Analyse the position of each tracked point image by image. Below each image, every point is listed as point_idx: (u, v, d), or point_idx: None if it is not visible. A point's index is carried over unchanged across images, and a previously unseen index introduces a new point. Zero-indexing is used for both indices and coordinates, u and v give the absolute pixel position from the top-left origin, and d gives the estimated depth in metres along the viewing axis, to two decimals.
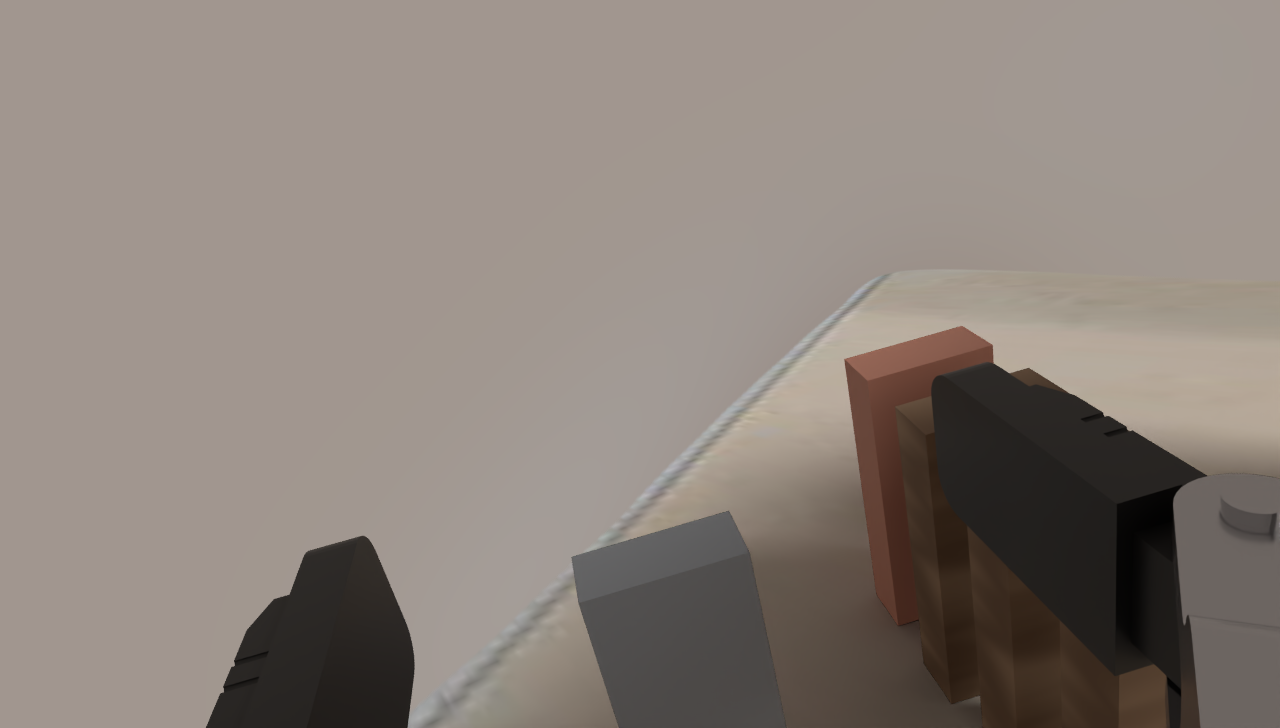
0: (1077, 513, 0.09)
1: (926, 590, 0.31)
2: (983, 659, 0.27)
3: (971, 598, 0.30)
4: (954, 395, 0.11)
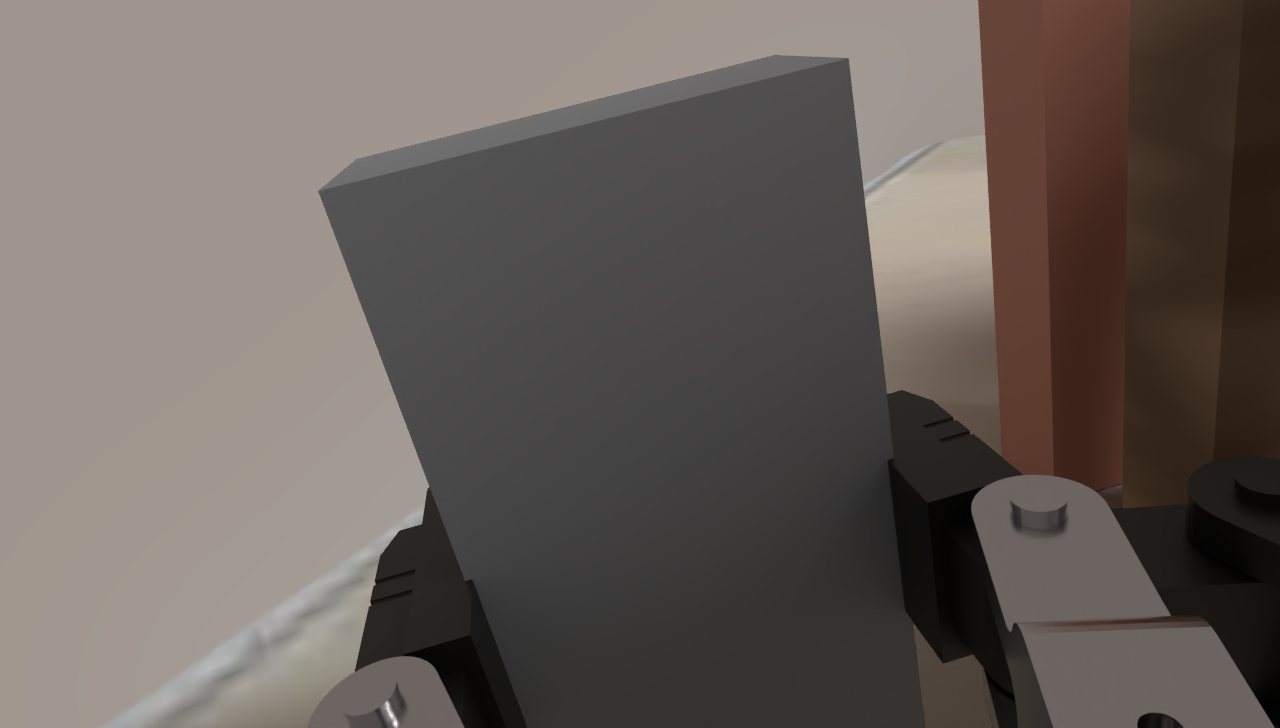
0: (906, 511, 0.09)
1: (1162, 386, 0.15)
2: None
3: (1277, 387, 0.14)
4: None
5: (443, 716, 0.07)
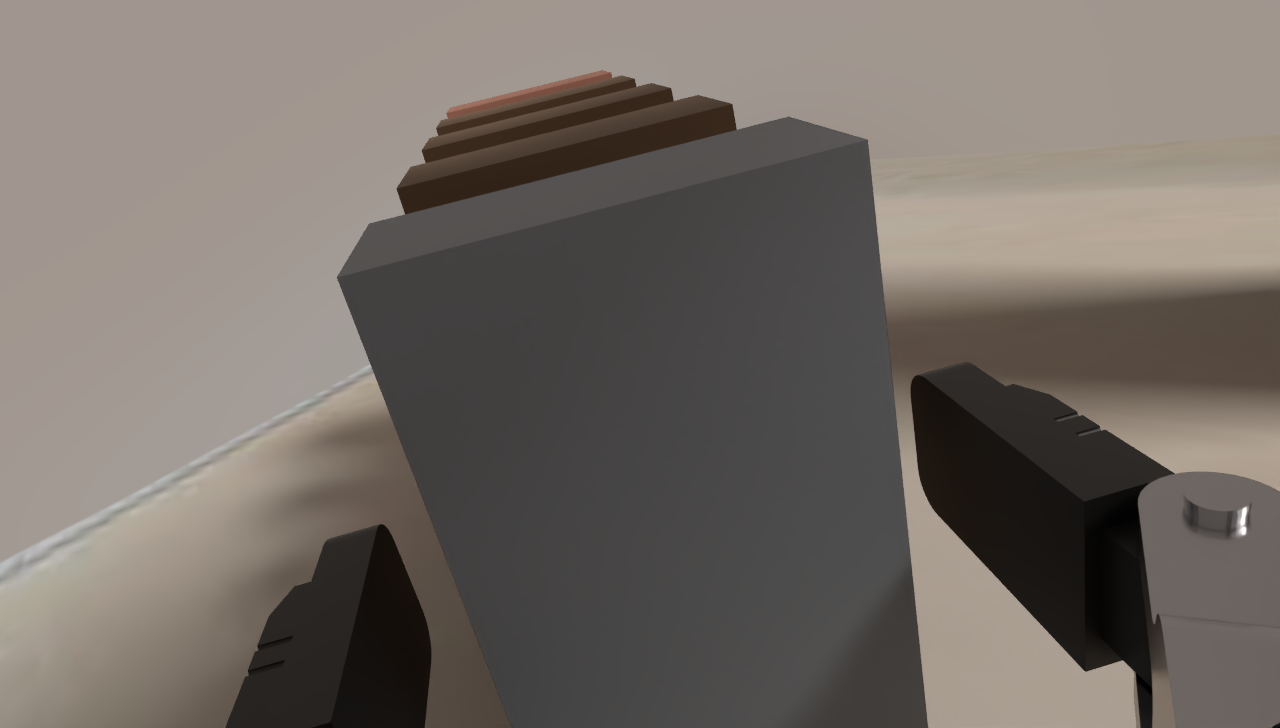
0: (1048, 510, 0.09)
1: None
2: None
3: None
4: (932, 395, 0.11)
5: None
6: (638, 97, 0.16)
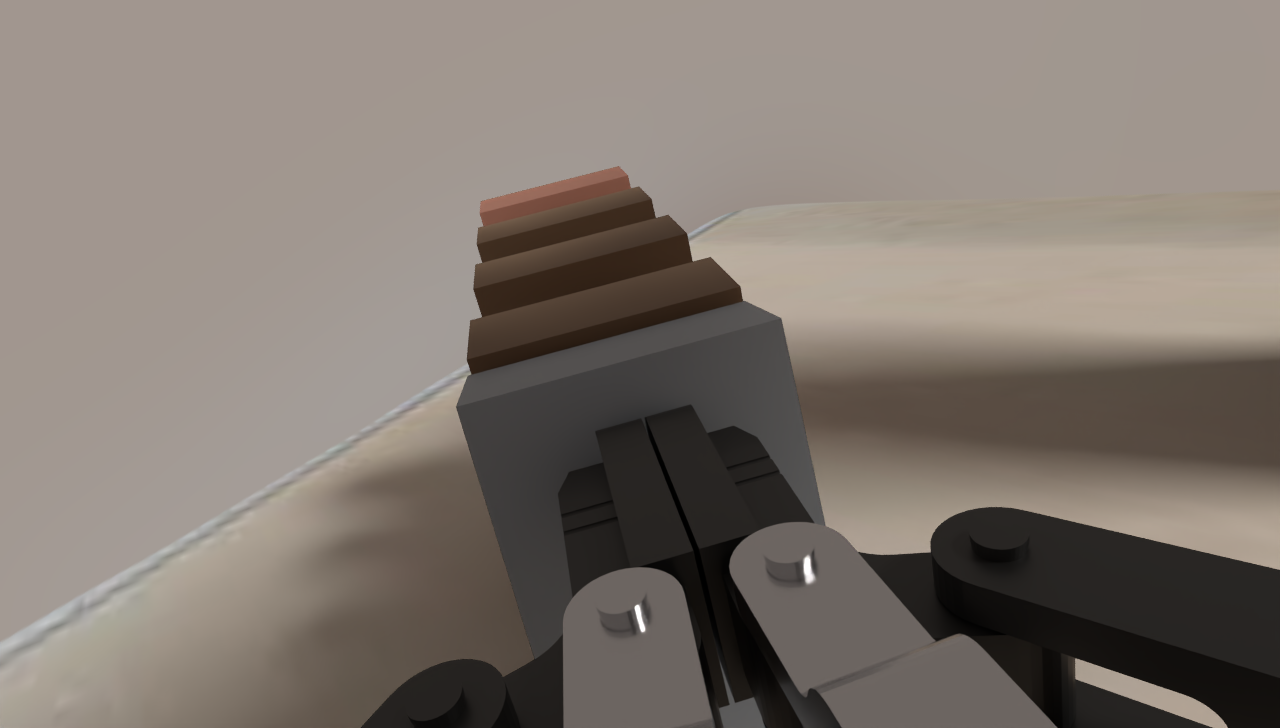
0: (695, 553, 0.09)
1: None
2: None
3: None
4: (651, 436, 0.11)
5: (681, 638, 0.07)
6: (658, 241, 0.19)
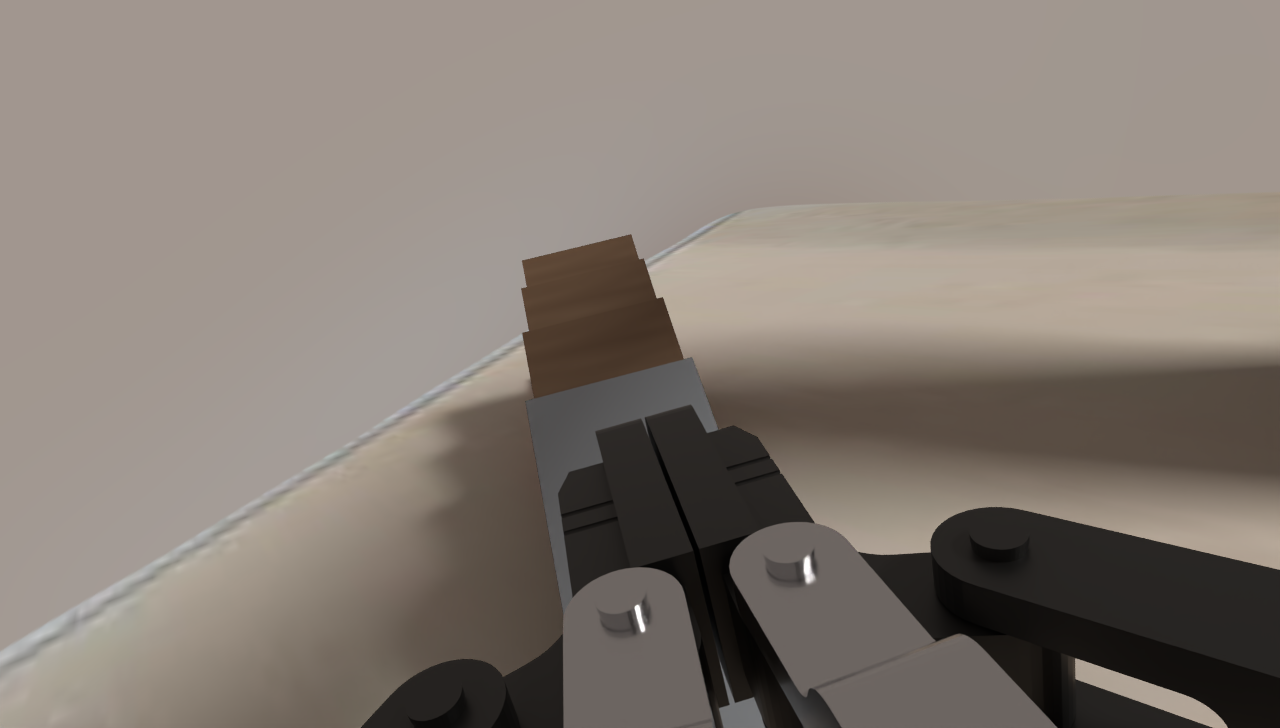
0: (695, 553, 0.09)
1: None
2: None
3: None
4: (652, 436, 0.11)
5: (681, 638, 0.07)
6: None
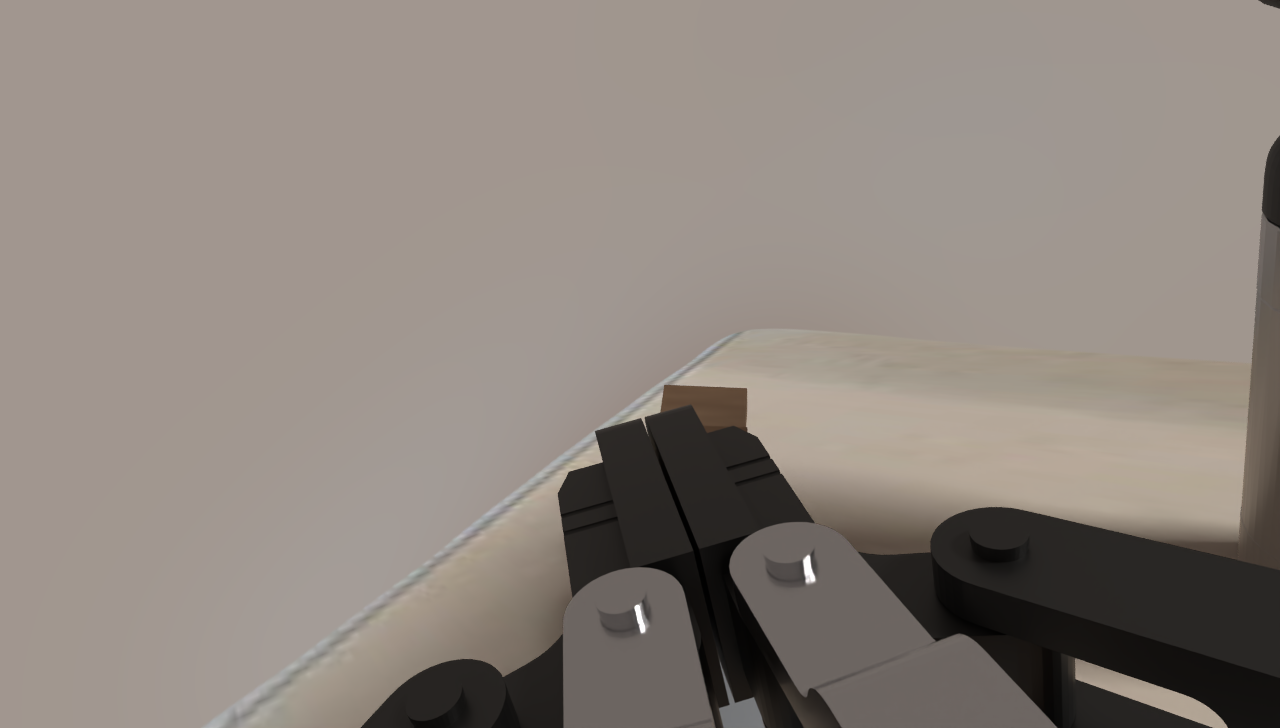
0: (695, 554, 0.09)
1: None
2: None
3: None
4: (651, 437, 0.11)
5: (681, 638, 0.07)
6: None
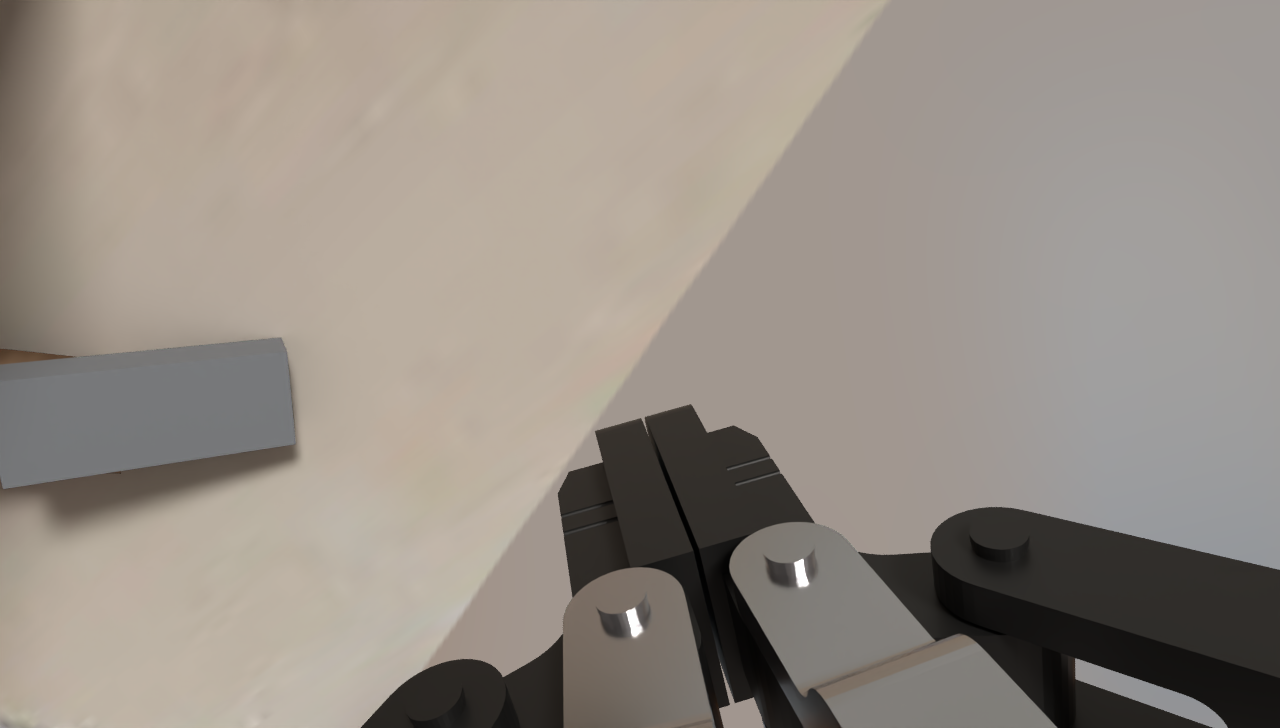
0: (695, 553, 0.09)
1: None
2: None
3: None
4: (651, 436, 0.11)
5: (681, 638, 0.07)
6: None
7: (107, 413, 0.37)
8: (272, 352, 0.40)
